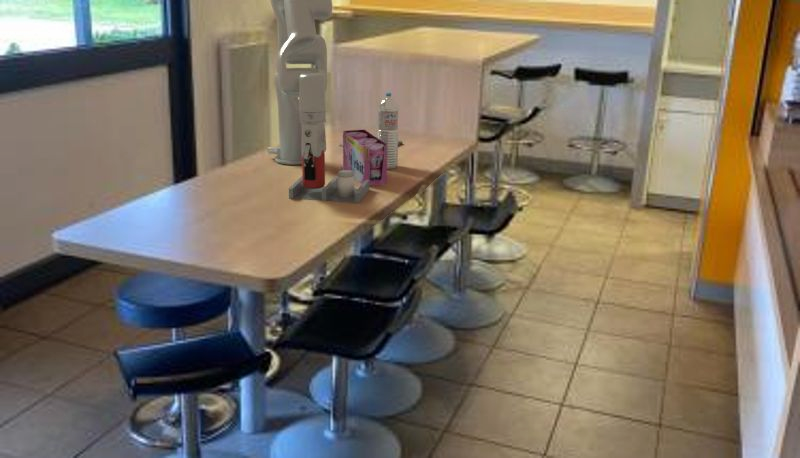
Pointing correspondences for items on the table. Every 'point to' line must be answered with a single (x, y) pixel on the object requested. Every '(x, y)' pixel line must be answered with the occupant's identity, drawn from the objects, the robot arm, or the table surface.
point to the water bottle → (389, 128)
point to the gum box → (365, 156)
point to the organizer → (326, 192)
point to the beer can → (320, 173)
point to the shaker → (346, 183)
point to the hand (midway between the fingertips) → (313, 176)
